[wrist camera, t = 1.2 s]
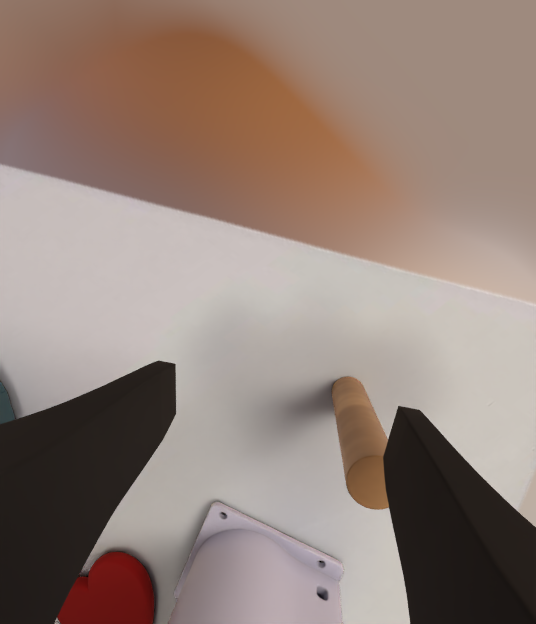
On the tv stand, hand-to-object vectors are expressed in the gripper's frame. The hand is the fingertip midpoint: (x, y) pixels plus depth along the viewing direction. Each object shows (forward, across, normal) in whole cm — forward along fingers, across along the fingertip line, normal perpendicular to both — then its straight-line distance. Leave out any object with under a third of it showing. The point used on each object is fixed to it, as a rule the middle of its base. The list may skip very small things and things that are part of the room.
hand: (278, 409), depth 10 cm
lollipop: (+3, +7, +26) cm, 27 cm away
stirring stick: (+9, -4, +5) cm, 11 cm away
